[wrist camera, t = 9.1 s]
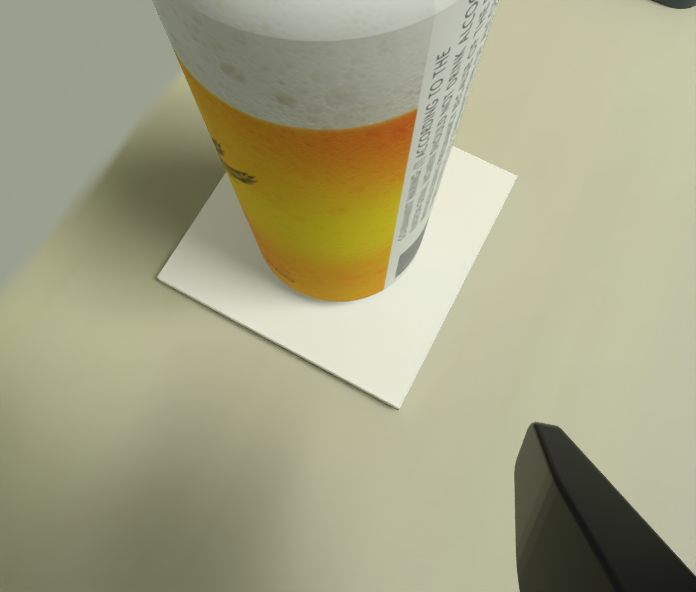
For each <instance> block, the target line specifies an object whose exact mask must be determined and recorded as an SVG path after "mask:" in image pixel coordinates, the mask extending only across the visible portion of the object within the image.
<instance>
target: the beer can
mask: <svg viewBox="0 0 696 592" xmlns="http://www.w3.org/2000/svg"><path fill="white" fill-rule="evenodd" d="M498 1H499V0H153V3H154V5H155V8H156V10H157V12H158V15H159V16H160V19H161V21H162V24H163V26H164V28H165V30H166V33H167V35H168V38H169V40H170V42H171V44H172V47H173V49H174V52H175V54H176V56H177V59H178V61H179V63H180V66H181V68H182V70H183V73H184V75H185V77H186V79H187V82H188V84H189V86H190V89H191V91H192V93H193V96H194V98H195V100H196V103H197V105H198V107H199V110H200V112H201V114H202V117H203V119H204V121H205V124H206V126H207V128H208V130H209V133H210V135H211V137H212V140H213V142H214V144H215V147H216V149H217V151H218V154H219V156H220V158H221V161H222V163H223V165H224V168H225V170H226V172H227V175H228V177H229V179H230V181H231V184H232V186H233V188H234V191H235V193H236V195H237V198H238V200H239V202H240V205H241V207H242V209H243V212H244V214H245V216H246V219H247V221H248V223H249V226H250V228H251V230H252V232H253V235H254V237H255V239H256V242H257V244H258V246H259V249H260V251H261V253H262V256H263V258H264V259H265V261H266V263H267V265H268V266H269V267H270V269H271V270H272V271H273V273H274V274H275V275H276V276H277V277H278V278H279V279H280V280H281V281H283V282H284V283H285V284H286V285H287V286H289V287H291V288H292V289H294V290H295V291H297V292H299V293H301V294H303V295H306V296H309V297H311V298H314V299H319V300H323V301H331V302H347V301H355V300H359V299H364V298H367V297H370V296H372V295H375V294H377V293H379V292H381V291H383V290H385V289H386V288H388V287H389V286H391V285H392V284H393V283H395V282H396V281H397V280H398V279H399V278H400V277H401V276H402V275H403V274H404V273H405V272H406V271H407V269H408V268H409V267H410V265H411V264H412V262H413V261H414V259H415V257H416V255H417V253H418V250H419V248H420V245H421V242H422V239H423V236H424V233H425V229H426V226H427V223H428V220H429V217H430V214H431V211H432V208H433V204H434V201H435V198H436V195H437V192H438V189H439V186H440V182H441V179H442V176H443V173H444V170H445V167H446V164H447V161H448V157H449V154H450V151H451V148H452V145H453V142H454V139H455V136H456V132H457V129H458V126H459V123H460V120H461V117H462V114H463V110H464V107H465V104H466V101H467V98H468V95H469V92H470V89H471V85H472V82H473V79H474V76H475V73H476V70H477V67H478V64H479V60H480V57H481V54H482V51H483V48H484V45H485V42H486V38H487V35H488V32H489V29H490V26H491V23H492V20H493V17H494V13H495V10H496V7H497V4H498Z"/></svg>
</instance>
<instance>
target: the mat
mask: <svg viewBox="0 0 696 592" xmlns="http://www.w3.org/2000/svg"><path fill="white" fill-rule="evenodd" d="M516 178H517V176H516V175H514V174H512V173H510V172H508V171H505V170H503V169H501V168H499V167H497V166H495V165H493V164H490V163H488V162H486V161H484V160H482V159H480V158H478V157H475V156H473V155H471V154H469V153H467V152H465V151H462V150H460V149H458V148H456V147H454V146H452V148H451V151H450V154H449V157H448V161H447V164H446V167H445V170H444V173H443V176H442V179H441V182H440V186H439V189H438V192H437V195H436V198H435V201H434V204H433V208H432V211H431V214H430V217H429V220H428V223H427V226H426V229H425V233H424V236H423V239H422V242H421V245H420V248H419V250H418V253H417V255H416V257H415V259H414V261H413V262H412V264H411V265H410V267H409V268H408V269H407V271H406V272H405V273H404V274H403V275H402V276H401V277H400V278H399V279H398V280H397V281H396V282H395V283H393V284H392V285H391V286H389V287H388V288H386V289H385V290H383V291H381V292H379V293H377V294H375V295H372V296H370V297H367V298H364V299H359V300H355V301H347V302H331V301H323V300H319V299H314V298H311V297H309V296H306V295H303V294H301V293H299V292H297V291H295V290H294V289H292V288H291V287H289V286H287V285H286V284H285V283H284V282H283V281H281V280H280V279H279V278H278V277H277V276H276V275H275V274H274V273H273V271H272V270H271V269H270V267H269V266H268V265H267V263H266V261H265V259H264V258H263V256H262V253H261V251H260V249H259V246H258V244H257V242H256V239H255V237H254V235H253V232H252V230H251V228H250V226H249V223H248V221H247V219H246V216H245V214H244V212H243V209H242V207H241V205H240V202H239V200H238V198H237V195H236V193H235V191H234V188H233V186H232V184H231V181H230V179H229V177H228V175H227V172H226V173H225V174H224V176H223V177H222V179H221V180H220V182H219V183H218V185H217V186H216V188H215V189H214V191H213V193H212V194H211V196H210V197H209V199H208V200H207V202H206V203H205V205H204V206H203V208H202V209H201V211H200V212H199V214H198V215H197V217H196V218H195V220H194V221H193V223H192V225H191V226H190V228H189V229H188V231H187V232H186V234H185V235H184V237H183V238H182V240H181V241H180V243H179V244H178V246H177V247H176V249H175V250H174V252H173V253H172V255H171V256H170V258H169V260H168V261H167V263H166V264H165V266H164V267H163V269H162V270H161V272H160V273H159V275H158V276H157V278H158V279H159V280H160V281H161V282H162V283H164V284H166V285H168V286H170V287H172V288H174V289H175V290H177V291H179V292H181V293H183V294H185V295H186V296H188V297H190V298H192V299H194V300H196V301H198V302H199V303H201V304H203V305H205V306H207V307H209V308H211V309H212V310H214V311H216V312H218V313H220V314H222V315H224V316H225V317H227V318H229V319H231V320H233V321H235V322H236V323H238V324H240V325H242V326H244V327H246V328H248V329H249V330H251V331H253V332H255V333H257V334H259V335H261V336H262V337H264V338H266V339H268V340H270V341H272V342H274V343H275V344H277V345H279V346H281V347H283V348H285V349H286V350H288V351H290V352H292V353H294V354H296V355H298V356H299V357H301V358H303V359H305V360H307V361H309V362H311V363H312V364H314V365H316V366H318V367H320V368H322V369H323V370H325V371H327V372H329V373H331V374H333V375H335V376H336V377H338V378H340V379H342V380H344V381H346V382H348V383H349V384H351V385H353V386H355V387H357V388H359V389H361V390H362V391H364V392H366V393H368V394H370V395H372V396H373V397H375V398H377V399H379V400H381V401H383V402H385V403H386V404H388V405H390V406H392V407H394V408H396V409H398V410H399V409H400V407H401V405H402V403H403V401H404V399H405V397H406V395H407V393H408V391H409V389H410V387H411V385H412V383H413V381H414V379H415V377H416V375H417V373H418V371H419V369H420V367H421V365H422V363H423V361H424V359H425V357H426V355H427V353H428V351H429V350H430V348H431V346H432V344H433V342H434V340H435V338H436V336H437V334H438V332H439V330H440V328H441V326H442V324H443V322H444V320H445V318H446V316H447V314H448V312H449V310H450V308H451V306H452V304H453V302H454V300H455V298H456V296H457V294H458V292H459V290H460V288H461V287H462V285H463V283H464V281H465V279H466V277H467V275H468V273H469V271H470V269H471V267H472V265H473V263H474V261H475V259H476V257H477V255H478V253H479V251H480V249H481V247H482V245H483V243H484V241H485V239H486V237H487V235H488V233H489V231H490V229H491V227H492V225H493V223H494V222H495V220H496V218H497V216H498V214H499V212H500V210H501V208H502V206H503V204H504V202H505V200H506V198H507V196H508V194H509V192H510V190H511V188H512V186H513V184H514V182H515V180H516Z"/></svg>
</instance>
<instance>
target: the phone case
mask: <svg viewBox="0 0 696 592" xmlns="http://www.w3.org/2000/svg"><path fill="white" fill-rule="evenodd" d="M652 1H655V2H657V3H660V4H662V5H665V6H668V7H671V8H676V9H686V8H691V7H693V6H696V0H652Z"/></svg>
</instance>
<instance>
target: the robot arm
mask: <svg viewBox="0 0 696 592" xmlns="http://www.w3.org/2000/svg"><path fill="white" fill-rule="evenodd" d="M514 482H515V529H516V563H517V574H518V582H519V590H520V592H696V576H695V575H694V574H693V573H692V571H691V570H690V569H689V568H688V567H687V566H686V565H685V564H684V563H683V562H682V561H681V559H680V558H679V557H678V556H677V555H676V554H675V553H674V552H673V551H672V550H671V548H670V547H669V546H668V545H667V544H666V543H665V542H664V541H663V540H662V539H661V538H660V536H659V535H658V534H657V533H656V532H655V531H654V530H653V529H652V528H651V527H650V525H649V524H648V523H647V522H646V521H645V520H644V519H643V518H642V517H641V516H640V515H639V513H638V512H637V511H636V510H635V509H634V508H633V507H632V506H631V505H630V504H629V503H628V501H627V500H626V499H625V498H624V497H623V496H622V495H621V494H620V493H619V492H618V490H617V489H616V488H615V487H614V486H613V485H612V484H611V483H610V482H609V481H608V480H607V478H606V477H605V476H604V475H603V474H602V473H601V472H600V471H599V470H598V469H597V467H596V466H595V465H594V464H593V463H592V462H591V461H590V460H589V459H588V458H587V457H586V455H585V454H584V453H583V452H582V451H581V450H580V449H579V448H578V447H577V446H576V444H575V443H574V442H573V441H572V440H571V439H570V438H569V437H568V436H567V435H566V434H565V432H564V431H563V430H562V429H561V428H559V427H558V426H555V425H550V424H545V423H539V422H534V423H532V424H530V426H529V427H528V429H527V432H526V435H525V438H524V440H523V443H522V446H521V448H520V451H519V454H518V457H517V460H516V464H515V472H514Z"/></svg>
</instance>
